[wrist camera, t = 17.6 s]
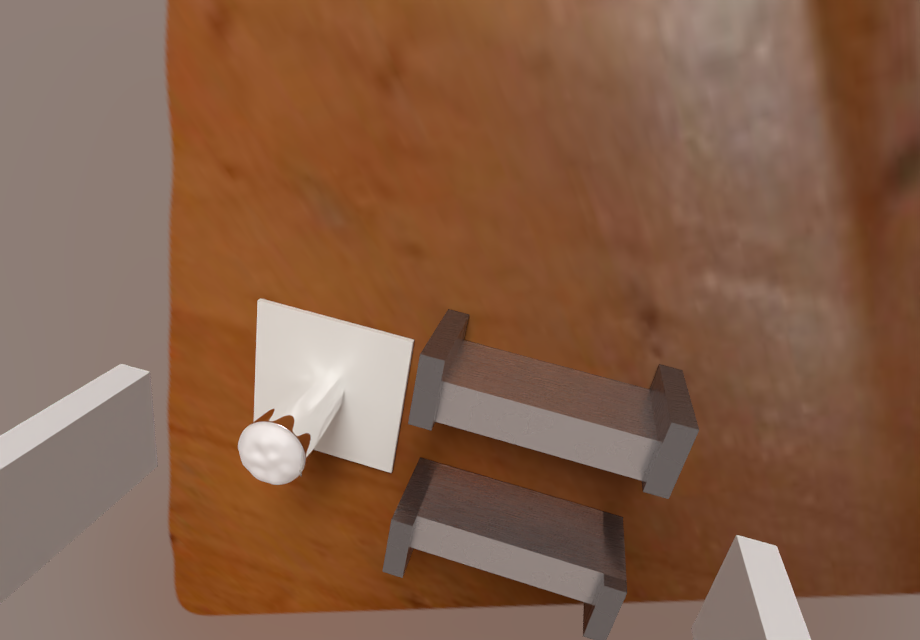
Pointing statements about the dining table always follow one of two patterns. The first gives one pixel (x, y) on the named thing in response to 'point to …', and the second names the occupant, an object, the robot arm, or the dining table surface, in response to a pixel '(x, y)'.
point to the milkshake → (290, 430)
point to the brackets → (546, 430)
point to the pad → (336, 377)
